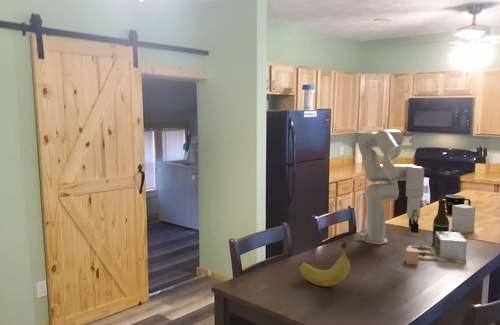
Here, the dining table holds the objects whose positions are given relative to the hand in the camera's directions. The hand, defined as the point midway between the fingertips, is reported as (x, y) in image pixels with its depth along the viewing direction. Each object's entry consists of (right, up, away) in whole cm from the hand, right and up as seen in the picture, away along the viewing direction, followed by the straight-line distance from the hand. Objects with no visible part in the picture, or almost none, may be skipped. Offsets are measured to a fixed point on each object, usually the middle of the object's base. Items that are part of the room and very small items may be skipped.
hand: (413, 229), depth 192 cm
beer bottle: (+26, -13, +29) cm, 41 cm away
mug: (+68, -5, +100) cm, 121 cm away
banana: (-46, -19, -24) cm, 55 cm away
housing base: (+15, -14, +12) cm, 24 cm away
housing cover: (+22, -13, +10) cm, 27 cm away
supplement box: (+51, -10, +55) cm, 75 cm away
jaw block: (0, -16, +2) cm, 16 cm away
